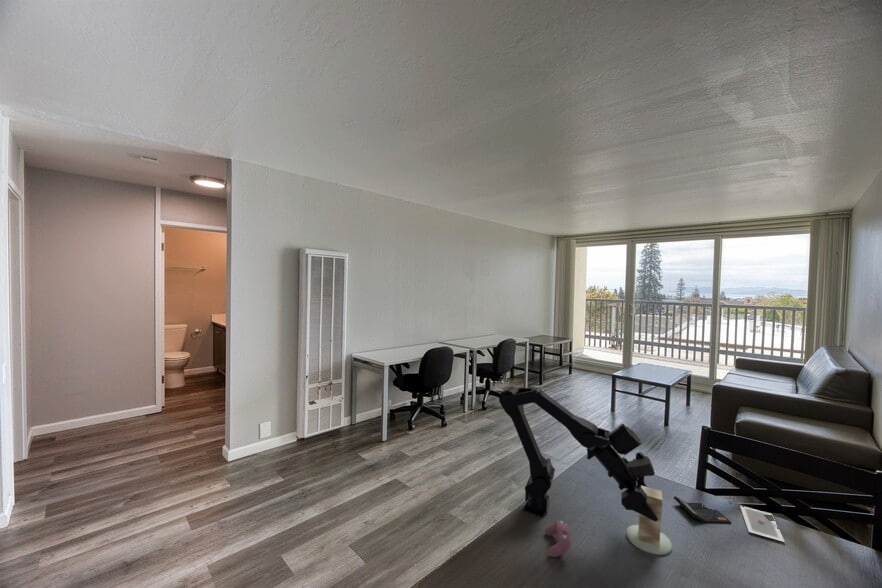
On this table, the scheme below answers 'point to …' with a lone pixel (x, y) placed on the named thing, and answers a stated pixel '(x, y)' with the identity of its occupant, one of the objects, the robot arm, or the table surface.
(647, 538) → the maple block
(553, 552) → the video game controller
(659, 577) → the table surface
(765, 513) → the touchpad
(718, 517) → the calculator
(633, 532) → the sage mat
